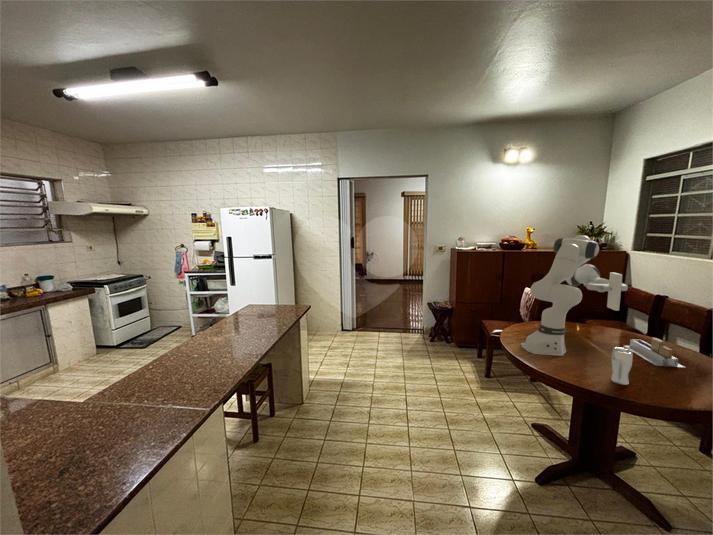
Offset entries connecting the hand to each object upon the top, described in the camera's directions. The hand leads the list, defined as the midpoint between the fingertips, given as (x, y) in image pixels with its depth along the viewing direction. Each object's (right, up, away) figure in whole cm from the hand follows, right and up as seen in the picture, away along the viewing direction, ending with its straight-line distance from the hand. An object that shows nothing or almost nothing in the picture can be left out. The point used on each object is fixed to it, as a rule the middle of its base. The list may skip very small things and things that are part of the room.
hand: (614, 289), depth 174 cm
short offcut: (-2, -35, -30) cm, 46 cm away
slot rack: (0, -35, -22) cm, 41 cm away
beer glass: (-37, -39, -43) cm, 69 cm away
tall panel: (0, -12, +1) cm, 12 cm away
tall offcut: (-1, -34, -25) cm, 42 cm away
